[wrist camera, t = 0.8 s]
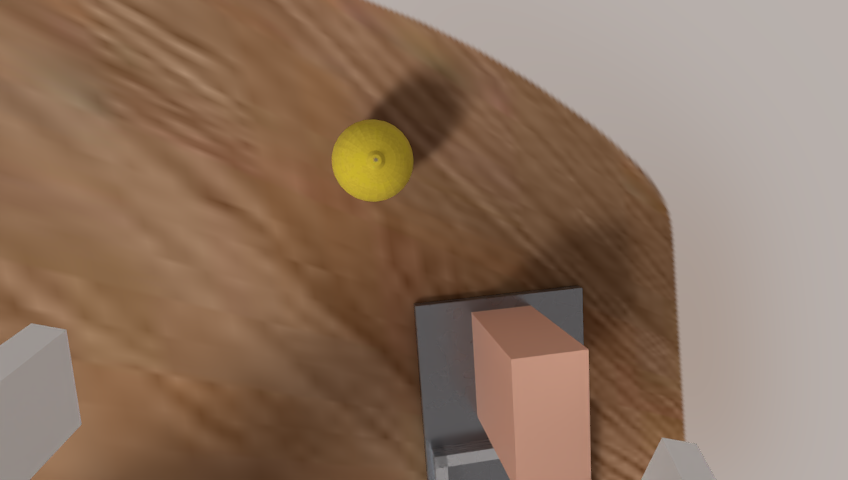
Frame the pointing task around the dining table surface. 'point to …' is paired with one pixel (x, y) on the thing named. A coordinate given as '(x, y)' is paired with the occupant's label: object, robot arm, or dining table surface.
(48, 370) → the robot arm
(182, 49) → the dining table surface
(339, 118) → the dining table surface
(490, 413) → the terracotta block
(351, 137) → the lemon
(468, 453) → the pocket plate
